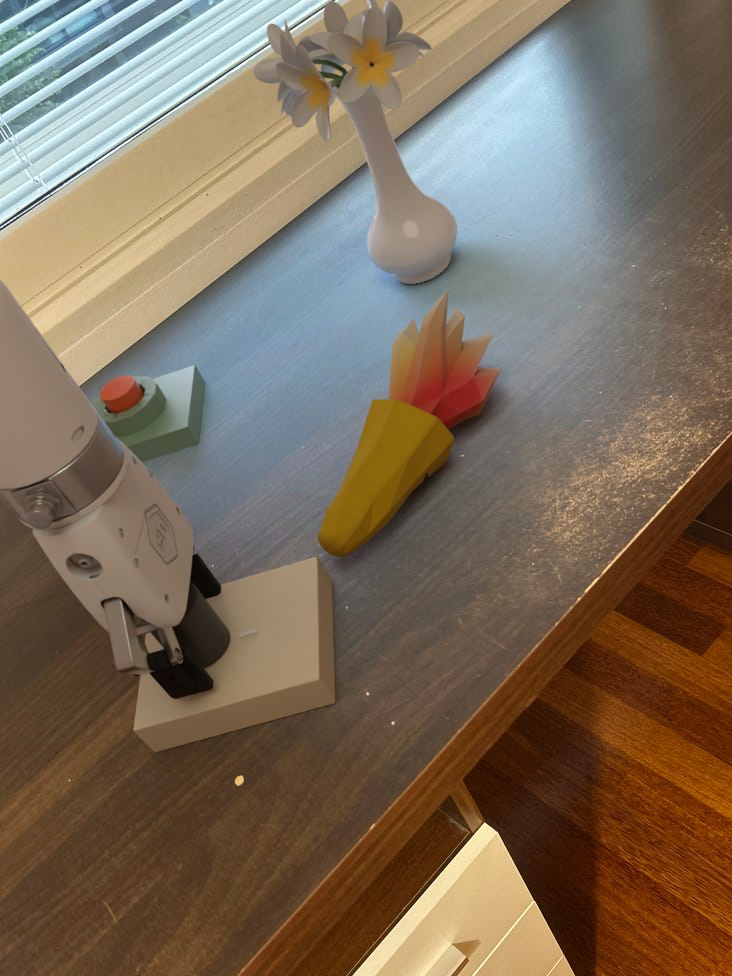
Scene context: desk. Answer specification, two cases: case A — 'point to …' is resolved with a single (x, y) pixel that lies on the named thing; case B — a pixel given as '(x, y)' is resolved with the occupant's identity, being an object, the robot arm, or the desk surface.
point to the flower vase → (366, 125)
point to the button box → (160, 414)
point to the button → (121, 394)
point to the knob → (200, 630)
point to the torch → (409, 425)
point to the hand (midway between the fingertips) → (198, 641)
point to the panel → (253, 660)
